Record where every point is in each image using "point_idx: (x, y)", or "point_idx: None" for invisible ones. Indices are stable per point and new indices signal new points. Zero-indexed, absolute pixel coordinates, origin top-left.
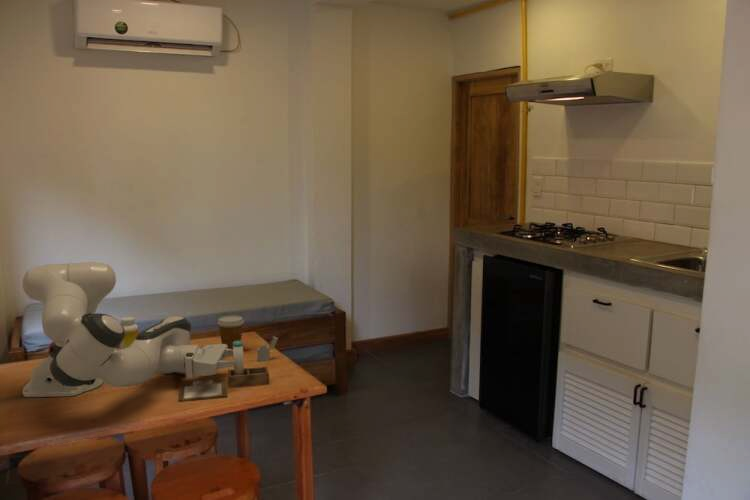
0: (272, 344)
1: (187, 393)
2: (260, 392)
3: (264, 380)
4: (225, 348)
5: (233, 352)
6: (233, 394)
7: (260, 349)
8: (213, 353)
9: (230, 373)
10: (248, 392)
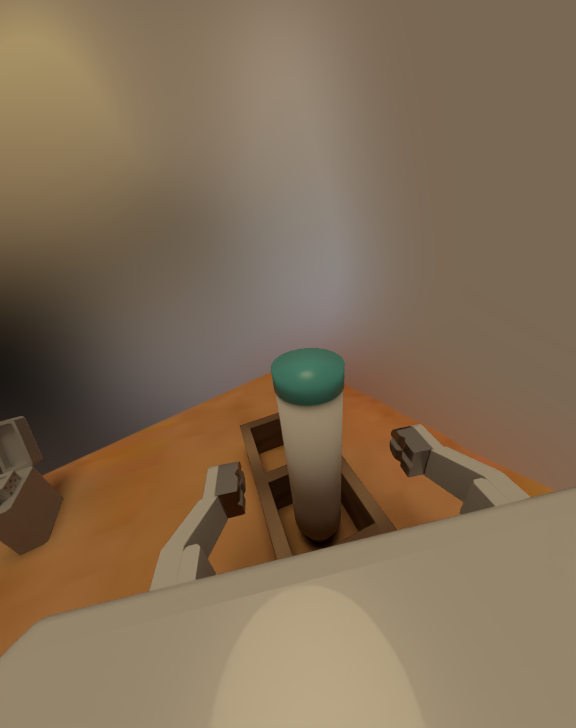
0: (27, 446)
1: None
2: (374, 429)
3: None
4: (173, 585)
5: (332, 437)
6: (442, 503)
7: (13, 499)
8: (428, 671)
9: (342, 543)
10: (392, 459)
